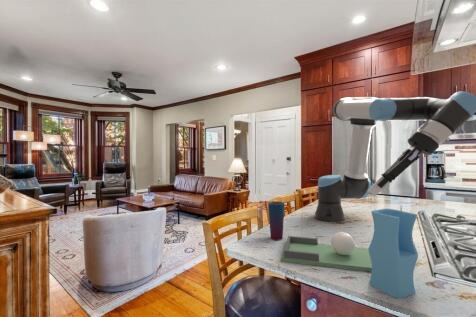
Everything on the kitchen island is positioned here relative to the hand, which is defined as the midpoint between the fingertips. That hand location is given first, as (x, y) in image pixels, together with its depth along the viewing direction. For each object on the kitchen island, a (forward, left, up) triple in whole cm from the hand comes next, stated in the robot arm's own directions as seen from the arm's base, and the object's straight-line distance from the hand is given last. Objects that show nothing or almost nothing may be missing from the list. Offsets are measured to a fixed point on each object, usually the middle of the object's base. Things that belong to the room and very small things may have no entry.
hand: (371, 193), depth 78 cm
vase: (+9, +14, -22) cm, 28 cm away
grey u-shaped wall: (+18, -13, -21) cm, 30 cm away
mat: (+10, -7, -22) cm, 25 cm away
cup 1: (+19, -30, -22) cm, 42 cm away
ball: (+7, -5, -17) cm, 19 cm away
